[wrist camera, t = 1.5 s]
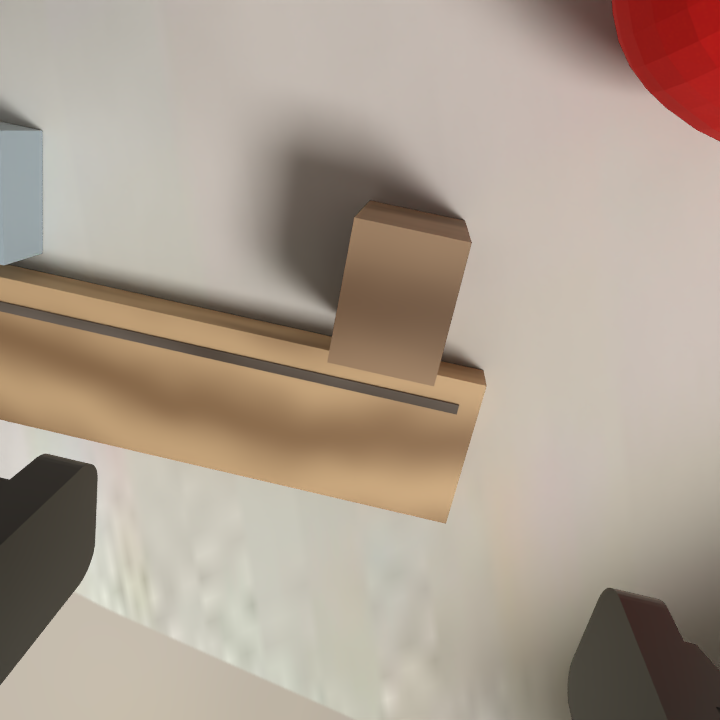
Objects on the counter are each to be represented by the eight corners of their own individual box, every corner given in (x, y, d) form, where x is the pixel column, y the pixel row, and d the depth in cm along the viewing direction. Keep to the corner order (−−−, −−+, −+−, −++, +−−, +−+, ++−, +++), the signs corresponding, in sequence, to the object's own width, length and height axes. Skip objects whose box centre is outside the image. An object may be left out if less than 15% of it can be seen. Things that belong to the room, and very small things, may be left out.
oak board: (-8, 260, 32) (-38, 269, 30) (483, 370, 31) (486, 386, 29) (-4, 397, 35) (-30, 413, 33) (445, 501, 34) (445, 524, 32)
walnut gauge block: (370, 200, 29) (354, 217, 23) (464, 220, 28) (471, 242, 23) (347, 320, 31) (327, 362, 25) (434, 339, 31) (434, 386, 25)
